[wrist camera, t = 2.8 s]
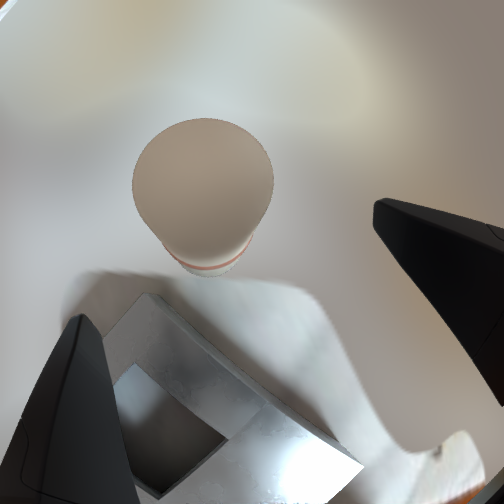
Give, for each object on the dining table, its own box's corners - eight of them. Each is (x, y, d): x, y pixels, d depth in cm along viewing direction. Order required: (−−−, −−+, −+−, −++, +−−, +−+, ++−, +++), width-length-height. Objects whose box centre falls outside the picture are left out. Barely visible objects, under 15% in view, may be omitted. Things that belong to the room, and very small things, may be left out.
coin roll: (258, 240, 19) (303, 176, 9) (209, 293, 18) (204, 282, 8) (207, 193, 19) (203, 96, 9) (157, 243, 18) (103, 183, 9)
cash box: (339, 442, 17) (363, 466, 14) (228, 537, 15) (232, 568, 11) (158, 295, 18) (143, 292, 14) (56, 413, 15) (29, 431, 11)
